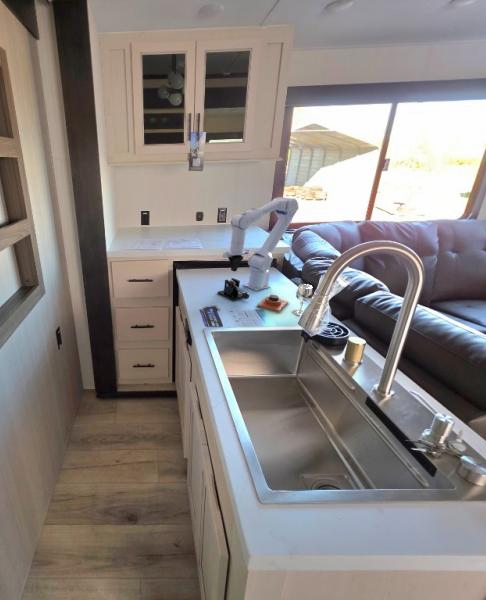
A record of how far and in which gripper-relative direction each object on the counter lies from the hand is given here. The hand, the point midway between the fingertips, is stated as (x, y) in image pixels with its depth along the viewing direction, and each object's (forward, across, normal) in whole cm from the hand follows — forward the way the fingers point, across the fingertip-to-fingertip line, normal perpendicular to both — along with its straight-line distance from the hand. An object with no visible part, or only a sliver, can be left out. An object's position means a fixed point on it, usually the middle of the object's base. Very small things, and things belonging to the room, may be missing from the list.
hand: (233, 270), depth 147 cm
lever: (+7, -4, -8) cm, 12 cm away
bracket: (+10, -4, -4) cm, 12 cm away
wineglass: (+10, +7, -32) cm, 34 cm away
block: (+10, +4, -21) cm, 24 cm away
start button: (+8, +4, -21) cm, 23 cm away
